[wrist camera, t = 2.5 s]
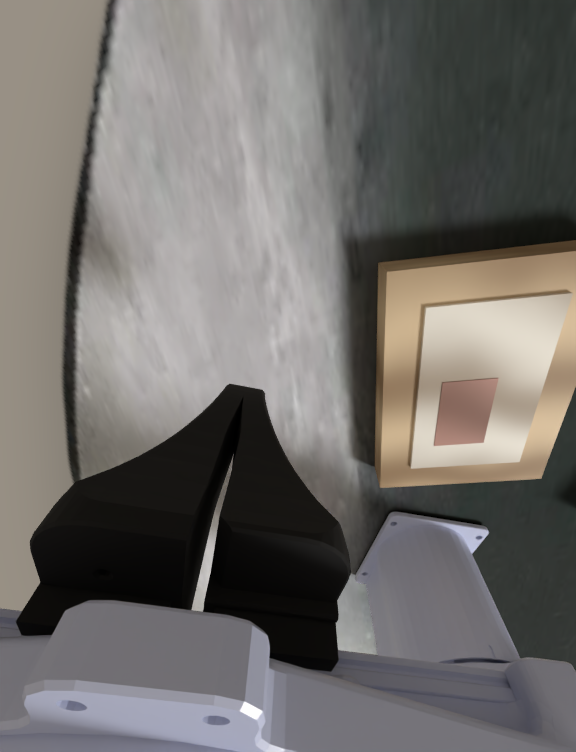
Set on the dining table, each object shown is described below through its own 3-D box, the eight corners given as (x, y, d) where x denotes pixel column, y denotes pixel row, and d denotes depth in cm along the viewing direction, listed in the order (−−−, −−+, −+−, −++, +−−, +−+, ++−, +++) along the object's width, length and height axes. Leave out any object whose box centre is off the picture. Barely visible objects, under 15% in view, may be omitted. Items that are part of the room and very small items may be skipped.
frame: (519, 451, 23) (543, 481, 21) (373, 461, 24) (380, 490, 22) (586, 236, 16) (633, 246, 14) (376, 260, 17) (388, 273, 15)
